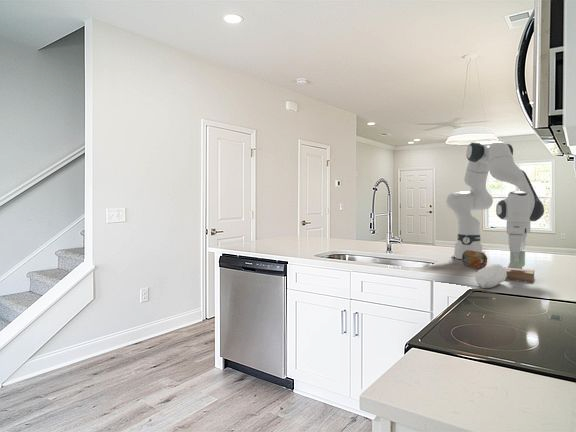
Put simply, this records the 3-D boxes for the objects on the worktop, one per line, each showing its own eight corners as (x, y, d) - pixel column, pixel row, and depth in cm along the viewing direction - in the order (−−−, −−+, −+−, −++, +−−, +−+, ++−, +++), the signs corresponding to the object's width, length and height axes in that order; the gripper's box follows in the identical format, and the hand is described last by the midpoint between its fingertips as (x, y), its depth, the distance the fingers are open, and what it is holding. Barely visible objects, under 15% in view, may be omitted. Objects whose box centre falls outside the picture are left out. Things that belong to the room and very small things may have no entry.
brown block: (502, 275, 172) (502, 267, 171) (534, 279, 165) (534, 270, 164) (499, 279, 164) (500, 270, 163) (532, 283, 157) (533, 273, 156)
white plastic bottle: (469, 289, 145) (469, 269, 145) (485, 281, 159) (485, 262, 158) (491, 293, 140) (492, 271, 139) (506, 284, 153) (507, 265, 153)
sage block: (511, 264, 167) (511, 250, 167) (524, 265, 164) (525, 251, 164) (510, 265, 163) (510, 251, 163) (523, 266, 160) (523, 252, 160)
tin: (461, 265, 199) (461, 249, 198) (466, 264, 200) (466, 248, 199) (482, 270, 184) (483, 253, 184) (488, 269, 185) (488, 252, 185)
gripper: (513, 227, 173) (512, 257, 174) (506, 230, 157) (505, 262, 158) (529, 227, 169) (528, 258, 170) (523, 230, 153) (523, 264, 154)
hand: (517, 260), depth 164 cm, fingers closed on sage block, 5 cm apart
